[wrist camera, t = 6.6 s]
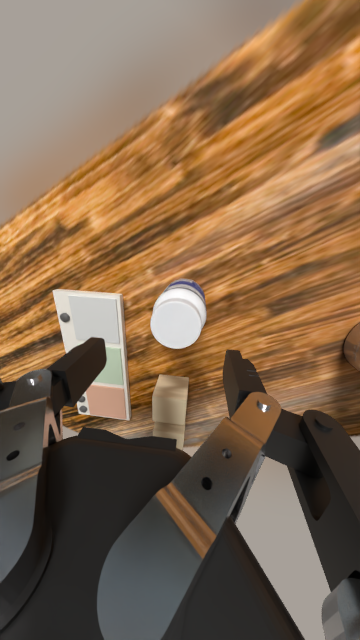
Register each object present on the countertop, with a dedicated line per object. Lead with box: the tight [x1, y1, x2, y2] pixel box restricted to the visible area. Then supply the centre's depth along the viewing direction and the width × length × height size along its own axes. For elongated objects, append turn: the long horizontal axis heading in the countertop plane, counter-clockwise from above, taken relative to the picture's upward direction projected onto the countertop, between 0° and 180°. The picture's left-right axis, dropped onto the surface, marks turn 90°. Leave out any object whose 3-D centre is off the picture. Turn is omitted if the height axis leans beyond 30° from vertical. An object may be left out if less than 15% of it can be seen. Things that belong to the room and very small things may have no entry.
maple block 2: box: [153, 409, 187, 451], centre depth 32 cm, size 5×5×5 cm
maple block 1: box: [152, 374, 189, 425], centre depth 29 cm, size 5×5×5 cm
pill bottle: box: [151, 279, 206, 349], centre depth 21 cm, size 6×6×10 cm
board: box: [53, 289, 131, 420], centre depth 31 cm, size 10×24×1 cm, turn 177°
